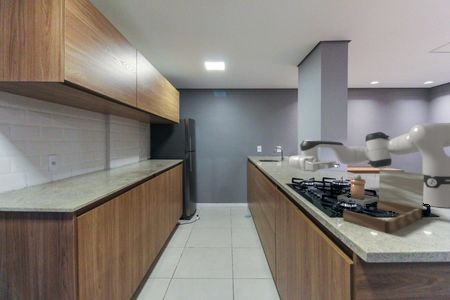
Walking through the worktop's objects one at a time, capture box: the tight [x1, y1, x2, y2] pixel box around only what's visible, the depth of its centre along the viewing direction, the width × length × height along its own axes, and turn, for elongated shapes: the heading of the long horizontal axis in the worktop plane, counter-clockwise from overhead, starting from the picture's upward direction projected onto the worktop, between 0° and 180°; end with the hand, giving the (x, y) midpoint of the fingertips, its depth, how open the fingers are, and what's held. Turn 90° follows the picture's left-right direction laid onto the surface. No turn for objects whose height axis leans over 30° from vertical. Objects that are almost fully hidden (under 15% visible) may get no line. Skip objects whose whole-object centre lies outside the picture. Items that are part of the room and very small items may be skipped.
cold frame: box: [342, 168, 424, 235], centre depth 100 cm, size 29×16×18 cm, turn 124°
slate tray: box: [337, 193, 379, 207], centre depth 127 cm, size 13×13×2 cm
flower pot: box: [349, 174, 366, 201], centre depth 127 cm, size 7×7×13 cm
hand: (333, 166), depth 134 cm, fingers open, 8 cm apart
